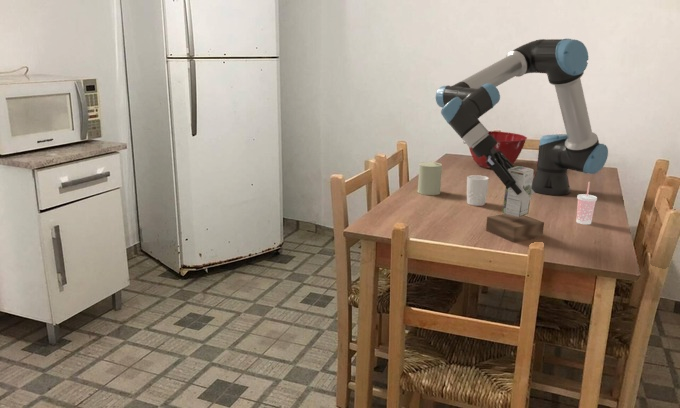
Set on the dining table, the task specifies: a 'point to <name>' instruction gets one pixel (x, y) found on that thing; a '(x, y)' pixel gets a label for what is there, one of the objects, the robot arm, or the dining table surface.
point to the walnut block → (514, 227)
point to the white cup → (477, 189)
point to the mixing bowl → (503, 147)
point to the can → (429, 178)
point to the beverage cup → (585, 207)
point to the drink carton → (511, 200)
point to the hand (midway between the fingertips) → (529, 198)
